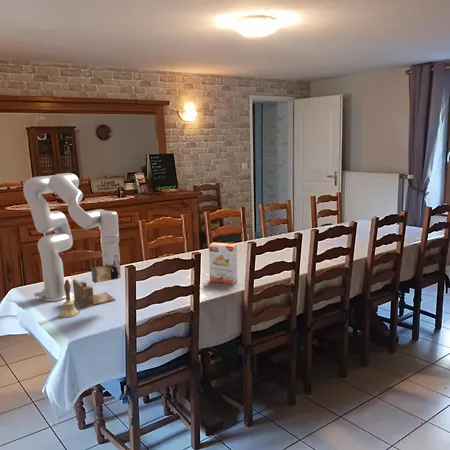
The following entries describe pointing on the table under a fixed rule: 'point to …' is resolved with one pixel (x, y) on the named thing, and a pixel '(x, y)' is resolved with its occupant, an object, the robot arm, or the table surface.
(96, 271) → the tan wooden block
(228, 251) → the cracker box
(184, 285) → the table surface
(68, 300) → the hand bell
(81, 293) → the brown wooden angled piece
